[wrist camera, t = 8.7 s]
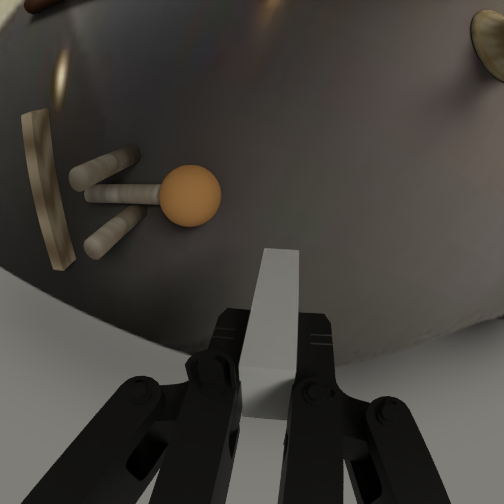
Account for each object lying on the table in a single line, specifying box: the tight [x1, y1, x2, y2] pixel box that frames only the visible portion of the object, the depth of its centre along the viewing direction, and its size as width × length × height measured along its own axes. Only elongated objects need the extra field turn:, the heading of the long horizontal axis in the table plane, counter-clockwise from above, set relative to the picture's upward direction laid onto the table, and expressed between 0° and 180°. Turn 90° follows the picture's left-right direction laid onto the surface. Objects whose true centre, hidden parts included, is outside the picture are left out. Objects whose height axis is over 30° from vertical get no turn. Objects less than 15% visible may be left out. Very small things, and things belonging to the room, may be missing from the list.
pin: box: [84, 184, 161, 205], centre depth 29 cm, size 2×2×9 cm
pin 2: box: [84, 204, 147, 260], centre depth 26 cm, size 2×2×9 cm
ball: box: [159, 165, 221, 227], centre depth 26 cm, size 6×6×6 cm
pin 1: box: [69, 145, 141, 192], centre depth 24 cm, size 2×2×9 cm
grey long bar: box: [21, 108, 76, 271], centre depth 29 cm, size 20×2×3 cm, turn 0°
